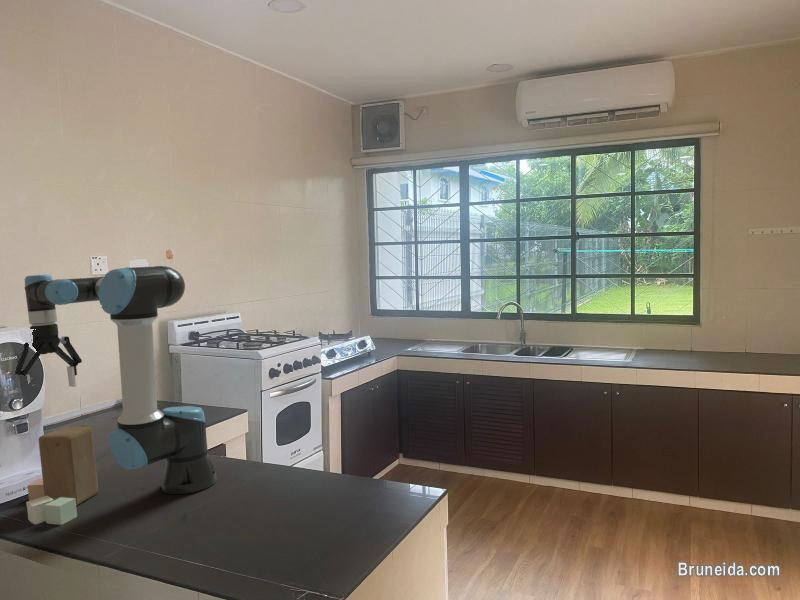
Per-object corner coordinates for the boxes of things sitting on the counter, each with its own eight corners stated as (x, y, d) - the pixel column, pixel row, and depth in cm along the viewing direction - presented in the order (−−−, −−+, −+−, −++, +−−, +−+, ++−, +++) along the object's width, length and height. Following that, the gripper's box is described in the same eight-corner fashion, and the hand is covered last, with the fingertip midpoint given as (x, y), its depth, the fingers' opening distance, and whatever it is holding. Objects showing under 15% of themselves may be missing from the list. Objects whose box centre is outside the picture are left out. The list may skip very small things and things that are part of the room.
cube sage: (77, 516, 159) (75, 498, 159) (61, 525, 154) (59, 506, 154) (62, 515, 160) (60, 497, 160) (46, 523, 156) (44, 505, 155)
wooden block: (75, 507, 165) (67, 436, 163) (44, 507, 167) (36, 436, 165) (100, 493, 175) (93, 426, 173) (70, 492, 177) (63, 426, 175)
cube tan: (57, 494, 176) (55, 478, 176) (46, 501, 171) (44, 484, 171) (40, 495, 176) (38, 478, 176) (29, 502, 171) (27, 485, 171)
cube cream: (55, 517, 159) (53, 499, 159) (34, 525, 155) (32, 506, 155) (49, 513, 162) (47, 495, 162) (28, 520, 159) (26, 501, 158)
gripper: (75, 319, 200) (82, 382, 202) (-7, 329, 179) (2, 399, 180) (88, 319, 196) (95, 383, 198) (6, 329, 175) (14, 401, 177)
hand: (51, 391), depth 189 cm, fingers open, 13 cm apart
